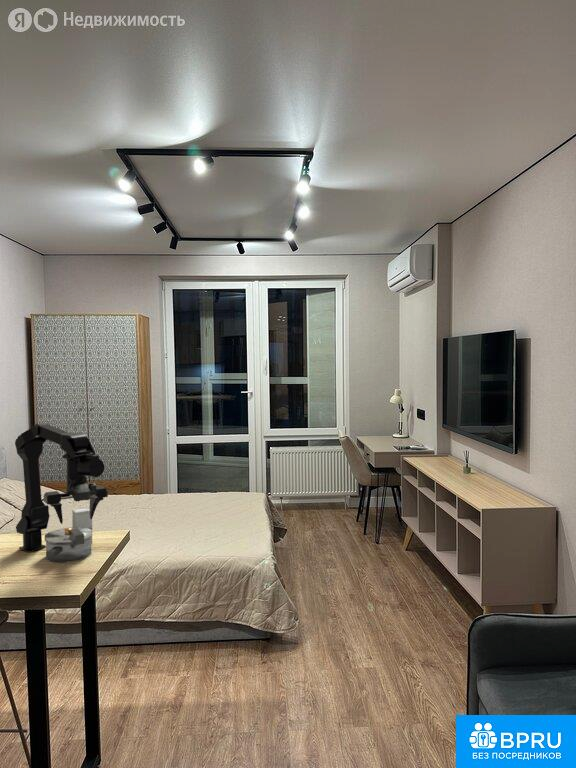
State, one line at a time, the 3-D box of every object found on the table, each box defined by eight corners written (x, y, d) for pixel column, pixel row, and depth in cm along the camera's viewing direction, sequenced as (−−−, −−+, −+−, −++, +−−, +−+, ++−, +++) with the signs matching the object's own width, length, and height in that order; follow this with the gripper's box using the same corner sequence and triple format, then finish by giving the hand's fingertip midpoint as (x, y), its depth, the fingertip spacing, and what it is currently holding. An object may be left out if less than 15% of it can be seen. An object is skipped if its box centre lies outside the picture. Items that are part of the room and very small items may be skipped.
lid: (40, 535, 192) (40, 523, 191) (85, 527, 200) (85, 516, 200) (55, 552, 174) (54, 539, 174) (103, 543, 182) (103, 530, 182)
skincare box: (75, 547, 199) (74, 512, 198) (72, 543, 202) (71, 509, 202) (93, 543, 202) (92, 509, 201) (90, 540, 206) (89, 507, 205)
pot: (59, 548, 198) (59, 530, 197) (98, 548, 196) (98, 531, 196) (28, 568, 178) (28, 549, 178) (71, 569, 177) (71, 550, 177)
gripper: (51, 481, 171) (51, 532, 172) (113, 474, 182) (113, 522, 183) (43, 474, 180) (43, 523, 181) (102, 468, 191) (102, 514, 192)
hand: (76, 521), depth 184 cm, fingers open, 9 cm apart
